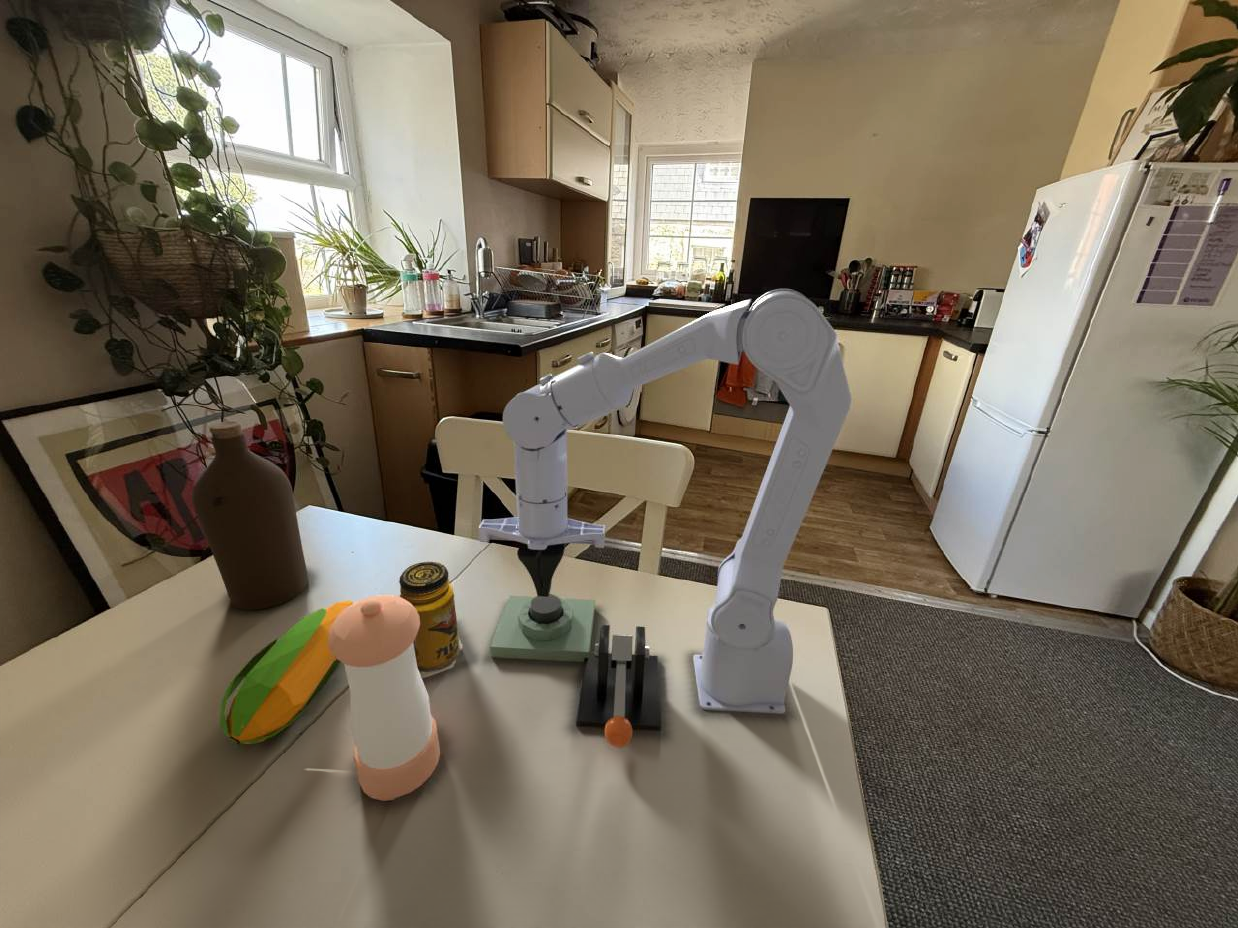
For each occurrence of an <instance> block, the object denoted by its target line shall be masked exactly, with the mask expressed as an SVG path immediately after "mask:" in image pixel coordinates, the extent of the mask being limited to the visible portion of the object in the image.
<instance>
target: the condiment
mask: <svg viewBox="0 0 1238 928" xmlns="http://www.w3.org/2000/svg"><path fill="white" fill-rule="evenodd" d="M398 583H399V585H400V589H399V593H400V594H399V597H401V598H403V599H405V600H407V601H408V602H410V603H411V604H412V605H413V606H414V608H415V609H416V610H417V612H418V614H419V618H420V626H419V630H418V633H417V635H416V638H415V640H414V642H413V645H414V651H415V657H416V663H417V668H418V670H419V673H420V675H421V678H422V680H423V679H425V678H429V677H431V676H434V675H438V674H439V673H443V672H445V671H447V670H451V669H452V668H454V667H455V664H456V662H457V660H458V658H459V655H460V654H461V651H462V649H463V647H464V645H463V643H462V641H461V639H460V637H459V626H458V620H457V611H456V604H455V603H456V602H455V594H454V588H453V585H452V584H451V583H450V578H449V570H448V569H447V567H446V566H445V564H442V563H440V562H435V561H423V562H417V563H414V564H412V565H409V566H408V567H407V568H406V569H404V571H402V573H401V575H400V576H399V581H398Z"/></svg>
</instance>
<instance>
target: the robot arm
mask: <svg viewBox="0 0 1238 928" xmlns="http://www.w3.org/2000/svg"><path fill="white" fill-rule="evenodd" d="M751 303H752V298H749V299H746V300H742V301H740V302H739V301H738V302H736V303H733V304H731V305H727V306H724V307H723V308H719V309H716V310H713V311H711V312H709V313H708V312H707V314H705V315H703V316H701V317H699V318H696V319H694V320H693V321H692V322H689V323H688V324H685V325H683V326H681V327H679V328H678V329H676V330H674V331H672V332H670V333H668V334H666V335H664V336H662V337H660V338H658V339H657V340H654V341H653V342H651V343H649V344H648V345H647V344H646V345H645V346H643V347H641V348H640V349H638V350H636V351H634V352H632V353H630V354H627V355H626V356H625V357H619V356H616V355H613V354H611V353H609V352H601V353H599V354H597V355H595V354H594V352H593V351H590V352H588V353H586V354H584V355H582V356H579V357H578V358H577V362H578V363H579V364H577V365H575V366H572V367H571V368H569V369H567V370H565V371H563V372H561V373H559V374H557V375H554V376H553V374H551V373H549V374H547V375H544V376H543V377H541V378H540V379H539V383H538V384H536V385H535V386H533V387H530V388H529V389H527V390H525V391H522V392H519V393H517V394H516V395H515V396H514V397H513V398H512V399H510V401H508V403H507V404H506V406H505V407H504V409H503V411H502V412H503V413H502V424H503V429H504V430H505V433H506V435H507V436H508V438H509V439H510V440H511V441H512V442H513V452H514V453H513V457H514V478H515V479H514V480H515V497H516V498H515V499H516V516H515V517H504V518H494V519H482V521H481V522H480V524H479V526H478V529H477V530H478V540H479V542H480V543H489V542H490V541H491V540H495V541H513V542H514V541H515V542H517V543H518V548H517V552H516V555H517V559H518V560H519V561H520V562H521V564H522V565H523V566H524V568H525V569H526V570H527V573H528V574H529V576H530V578H531V580H532V582H533V585H534V589H535V591H536V596H541V597H548V596H549V594H551V589H552V583H553V582H552V581H553V577H554V575H555V573H556V570H557V569H558V566H559V564H561V561H562V559H563V557H564V554H565V549H566V545H567V544H576V545H594V547H595V548H597V549H604V548H605V543H606V525H605V524H594V523H590V522H585V521H581V520H576V519H572V518H568V448H567V447H568V436H567V435H568V433H567V432H568V430H577V429H578V428H580V427H583V426H585V425H587V424H589V423H592V422H594V421H596V420H599V419H601V418H603V417H605V416H607V415H610V414H612V413H615V412H616V411H619V410H621V409H623V408H626V407H628V405H629V404H630V402H631V400H632V397H633V393H634V390H635V389H636V388H638V387H641V386H643V385H646V384H649V383H650V382H653V381H656V380H658V379H660V378H663V377H665V376H668V375H670V374H673V373H675V372H677V371H680V370H681V369H685V368H687V367H690V366H693V365H695V364H697V363H699V362H701V361H704V360H708V359H709V360H714V361H718V362H723V363H727V364H732V365H739V364H740V360H741V357H742V352H744V354H745V356H746V358H747V359H748V361H749V362H750V363H751V364H752V365H753V366H754V367H755V368H757V370H759V372H761V373H763V374H764V375H765V376H766V377H768V378H769V379H770V380H772V381H773V382H774V383H775V384H776V385H777V386H778V389H779V390H780V393H782V395H783V396H784V399H785V400H786V402H787V403H788V405H789V408H788V410H787V413H786V416H785V418H784V421H783V424H782V426H781V430H780V432H779V435H778V438H777V440H776V443H775V445H774V449H773V451H772V453H771V457H770V459H769V462H768V465H767V468H766V470H765V473H764V476H763V478H762V481H761V484H760V487H759V490H758V491H757V495H756V497H755V500H754V503H753V506H752V508H751V511H750V514H749V517H748V519H747V522H746V525H745V527H744V530H743V533H742V536H741V538H739V539H738V540H737V542H736V544H735V547H734V549H733V551H732V552H730V554H729V555H728V556H727V557H725V558H724V559H723V560H722V561H721V563H720V564H719V566H718V569H717V586H716V592H715V598H714V604H713V605H712V606H711V607H710V608H709V610H708V613H707V616H706V617H707V618H706V625H705V632H704V638H703V639H704V640H703V647H702V654H693V656H692V657H693V659H692V661H693V666H694V667H693V668H694V674H695V681H696V688H697V696H698V703H699V707H700V708H701V709H702V710H706V711H723V712H724V711H726V712H745V713H759V714H761V713H764V714H778V715H779V714H781V715H783V714H785V713H786V706H785V700H786V696H787V691H788V687H789V682H790V678H791V674H792V671H793V663H794V661H793V660H794V645H793V638H792V634H791V631H790V629H789V626H788V625H787V624H786V622H784V621H780V620H776V619H775V617H774V609H775V606H776V603H777V601H778V598H779V593H780V587H781V581H782V576H783V570H784V566H785V564H786V561H787V558H788V556H789V554H790V553H791V550H792V547H793V545H794V542H795V539H796V537H797V535H798V533H799V530H800V528H801V526H802V524H803V521H804V518H805V516H806V514H807V512H808V508H809V506H810V504H811V502H812V499H813V496H814V495H815V492H816V490H817V488H818V485H819V482H820V480H821V479H822V476H823V473H824V472H825V468H826V466H827V463H828V461H829V459H830V457H831V454H832V452H833V449H834V447H835V445H836V442H837V440H838V437H839V435H840V433H841V431H842V428H843V426H844V424H845V421H846V418H847V416H848V414H849V412H850V409H851V404H852V394H851V390H850V386H849V382H848V377H847V374H846V370H845V367H844V361H843V357H842V354H841V350H840V347H839V340H838V334H837V332H836V330H835V329H834V328H833V327H832V325H831V324H830V322H829V321H828V319H826V317H825V316H824V314H823V313H822V312H821V310H820V309H819V308H818V307H817V305H816V304H815V303H814V302H813V301H811V300H810V299H809V298H807V297H806V296H805V295H804V294H802V293H801V292H799V291H796V290H794V289H790V288H777V289H776V288H775V289H773V290H769V291H767V292H765V293H764V294H762V295H761V296H760V297H758V298H757V299H756V300H755V301H754V302H753V303H752V305H751ZM750 306H751V307H750ZM749 307H750V308H749ZM747 309H749V310H747Z"/></svg>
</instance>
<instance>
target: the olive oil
mask: <svg viewBox="0 0 1238 928" xmlns="http://www.w3.org/2000/svg"><path fill="white" fill-rule="evenodd" d="M208 429H209V433H211V437H210V440H211V443H212V445H213V446H212V447H213V449H214V452H215V456H214V458H213V459H212V460H211V462H209V464H208V465H207V467H206V468H204V470H203V471H202V473H201V474H200V475H199V477H198V478H197V479H196V481H195V483H194V485H193V488H192V500H191V501H192V507H193V510H194V512H195V515H196V517H197V520H198V522H199V525H200V527H201V529H202V531H203V534H204V536H205V539H206V541H207V543H208V546H209V549H210V551H211V553H212V556H213V558H214V561H215V563H216V566H217V568H218V572H219V574H220V576H221V579H222V582H223V585H224V587H225V589H226V593H227V595H228V598H229V600H230V602H231V604H232V605H233V606H234V607H235V608H237V609H240V610H247V611H254V610H255V611H257V610H262V609H268V608H272V607H276V606H278V605H281V604H283V603H286V602H288V601H290V600H292V599H293V598H295V597H296V596H298V595H299V594H300V593H302V591H303V590H304V589H305V588H306V587H307V585H308V583H309V574H308V569H307V564H306V559H305V555H304V549H303V544H302V539H301V534H300V533H301V532H300V528H299V521H298V517H297V510H296V504H295V498H294V493H293V492H294V491H293V487H292V484H291V481H290V480H289V478H288V476H287V475H286V473H285V472H284V470H283V469H282V468H281V467H280V466H278V465H276V464H275V463H273V462H272V461H270V460H268V459H266V458H264V457H262V456H260V455H258V454H256V453H254V452H253V451H252V450H250V449H249V448H248V444H247V439H246V435H245V432H243V431H242V424H241V423H240V422H239V421H222V422H221V421H220V422H217V423H214V424H212V425H210V426H209V427H208Z"/></svg>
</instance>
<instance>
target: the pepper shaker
mask: <svg viewBox="0 0 1238 928" xmlns="http://www.w3.org/2000/svg"><path fill="white" fill-rule="evenodd" d="M419 626H420V618H419V614H418V612H417V610H416V609H415V608H414V606H413V605H412V604H411V603H410V602H408V601H407V600H405V599H403V598H401V597H400V595H399V596H398V595H392V594H378V595H374V596H368V597H365V598H363V599H361V600H358V601H355V602H353V604H352V605H350V606H348V607H347V608H345V609H344V610H343V611H342V612H341V613H340V614H339V615H338V616H337V618H336V620H335V621H334V623H333V625H332V626H331V628H330V630H329V639H328V647H329V649H330V651H331V653H332V654H333V655H334V657H335V658H336V659H338V660H339V661H340V663H343V665H344V670H345V674H346V678H347V683H348V687H349V693H350V731H351V735H352V739H353V742H354V744H355V745H354V747H353V762H354V766H355V770H356V774H357V778H358V783H359V785H360V787H361V789H362V791H363V793H364V794H365V795H367V796H368V797H369V798H371V799H374V800H378V801H380V802H381V801H382V802H386V801H394V800H395V799H397V798H399V797H402V796H405V795H408V794H410V793H412V792H413V791H415V790H416V789H418V788H420V787H421V786H422V785H423V784H424V783H425V782H426V781H427V780H428V779H429V778H430V777H431V776H432V774H433V773H434V771H435V769H436V767H437V766H438V764H439V760H440V755H441V749H440V740H439V735H438V734H439V733H438V726H437V721H436V720H435V718H434V717H433V715H432V714H431V703H430V695H429V694H428V691H427V689H426V685H425V683H424V680H423V679H422V678H421V675H420V673H419V670H418V668H417V663H416V657H415V651H414V645H413V642H414V640H415V638H416V635H417V633H418V630H419ZM336 659H335V660H336Z"/></svg>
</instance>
